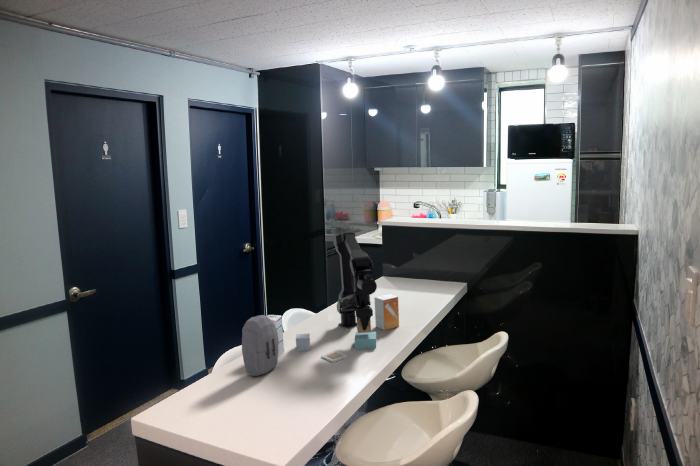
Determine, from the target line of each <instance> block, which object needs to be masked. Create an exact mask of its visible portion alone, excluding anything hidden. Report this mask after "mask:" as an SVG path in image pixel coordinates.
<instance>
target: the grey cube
mask: <svg viewBox="0 0 700 466" xmlns="http://www.w3.org/2000/svg"><path fill="white" fill-rule="evenodd" d="M295 346H296V352H304V351H311V337H310V333H297V334H296V336H295Z"/></svg>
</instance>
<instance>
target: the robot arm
mask: <svg viewBox="0 0 700 466" xmlns="http://www.w3.org/2000/svg"><path fill="white" fill-rule="evenodd" d="M359 244H360V243H358V240H357V238H356V234H355V231H345V232H342V233H340V234H336V235H335V236H334V237H333V245H334V247H335V248H334V249H335V250H336V252H337V253H338V255H339V263H340V264H339V265H340V266H339V267H340V278H341V280H340V281H341V289H340V292H339V293H338V300H337V304H336V311H337V312H338V313H339V315H340V323H338V324H337V325H338V326H340V327H343V328H347V329H349V328H352V327H354V326H356V327H357V317H359V318H360V320H361V324H362V328H363V330H366V328H367V326H368V323H369V320H370V321H371V317H373V316H374V311H373V307H371V296H370V295H372V294H375V292H376V291H377V286H378V285H377V282H376V281H375V280H374V279H373V278H372V275H375V271H376V270H375V267H374V264H373V260H372V258H371V257H370V256H369V255H368V253H367V252H366V251H364V250H362V249H361V247H360V245H359ZM352 275H353V276H352ZM353 284H354V285H353Z"/></svg>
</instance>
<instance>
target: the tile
mask: <svg viewBox="0 0 700 466" xmlns="http://www.w3.org/2000/svg"><path fill="white" fill-rule="evenodd" d="M348 357H349V356H348V355H347V354H345V353H342V352H340V351H338V350H335V351H333V352H329V353H326V354H323V355H321V359H325V360H327V361H328V362H331V363H336V362H339V361H341V360H344V359H347V358H348Z"/></svg>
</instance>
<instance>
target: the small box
mask: <svg viewBox="0 0 700 466" xmlns="http://www.w3.org/2000/svg"><path fill="white" fill-rule="evenodd" d="M374 316H375V317H374V321H375V327H376V328H377V327H378V328H377V329H381V330H382V329H383V330H382V331H387V330H390V329H394V328H398V327H400V317H399V316H400V313H399V296H398V295H394V294H390V293H388V294H383V295H379V296H375V297H374Z"/></svg>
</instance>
